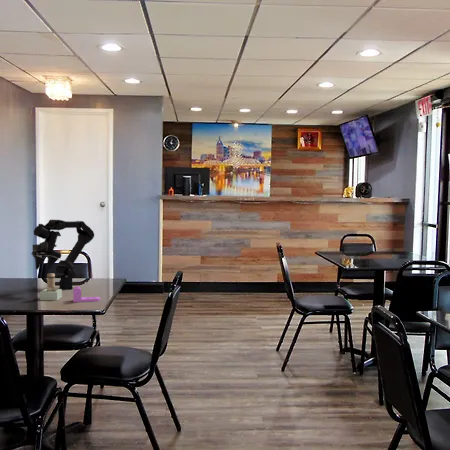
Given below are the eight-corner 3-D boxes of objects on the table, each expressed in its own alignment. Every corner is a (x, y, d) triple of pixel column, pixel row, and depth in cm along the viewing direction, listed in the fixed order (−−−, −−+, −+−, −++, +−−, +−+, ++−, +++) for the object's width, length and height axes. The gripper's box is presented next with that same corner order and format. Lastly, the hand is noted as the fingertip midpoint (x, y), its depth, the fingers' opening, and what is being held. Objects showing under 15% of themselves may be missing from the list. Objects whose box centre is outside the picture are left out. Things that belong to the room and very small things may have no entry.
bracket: (73, 302, 247) (73, 288, 246) (73, 300, 252) (73, 286, 252) (100, 301, 250) (100, 287, 250) (100, 299, 256) (100, 285, 255)
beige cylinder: (53, 297, 258) (53, 273, 257) (56, 298, 255) (55, 274, 254) (46, 298, 256) (46, 273, 255) (48, 299, 253) (48, 274, 252)
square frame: (45, 296, 259) (45, 289, 259) (61, 297, 260) (61, 289, 259) (39, 300, 251) (39, 292, 251) (57, 300, 251) (57, 292, 251)
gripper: (27, 237, 272) (18, 265, 268) (48, 236, 261) (39, 265, 257) (44, 243, 280) (36, 270, 276) (65, 243, 269) (57, 271, 265)
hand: (41, 269), depth 268 cm, fingers open, 9 cm apart
